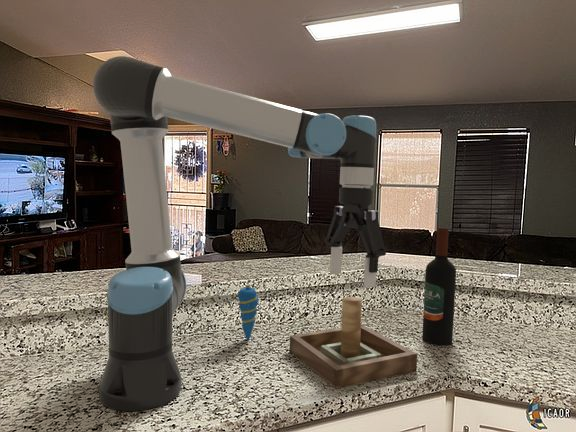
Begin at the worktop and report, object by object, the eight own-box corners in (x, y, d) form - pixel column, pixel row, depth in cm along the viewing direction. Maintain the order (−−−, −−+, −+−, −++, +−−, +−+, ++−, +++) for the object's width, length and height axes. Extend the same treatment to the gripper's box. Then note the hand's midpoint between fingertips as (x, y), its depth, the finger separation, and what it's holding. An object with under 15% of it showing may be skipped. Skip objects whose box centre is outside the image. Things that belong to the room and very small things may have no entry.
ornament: (248, 344, 112) (248, 286, 111) (233, 339, 115) (233, 282, 114) (261, 339, 116) (262, 282, 115) (246, 334, 119) (247, 279, 118)
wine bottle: (456, 346, 115) (463, 230, 112) (426, 345, 115) (432, 229, 112) (446, 335, 122) (452, 226, 119) (418, 334, 122) (424, 225, 120)
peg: (347, 363, 101) (349, 302, 100) (337, 356, 105) (338, 297, 103) (363, 360, 103) (365, 300, 101) (352, 353, 107) (354, 296, 105)
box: (336, 389, 90) (336, 370, 89) (289, 351, 108) (289, 335, 108) (416, 371, 99) (417, 353, 99) (360, 339, 118) (361, 324, 117)
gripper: (407, 189, 91) (400, 291, 93) (340, 185, 113) (336, 267, 115) (377, 188, 87) (371, 294, 89) (314, 184, 110) (310, 269, 111)
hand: (351, 279), depth 102 cm, fingers open, 13 cm apart
